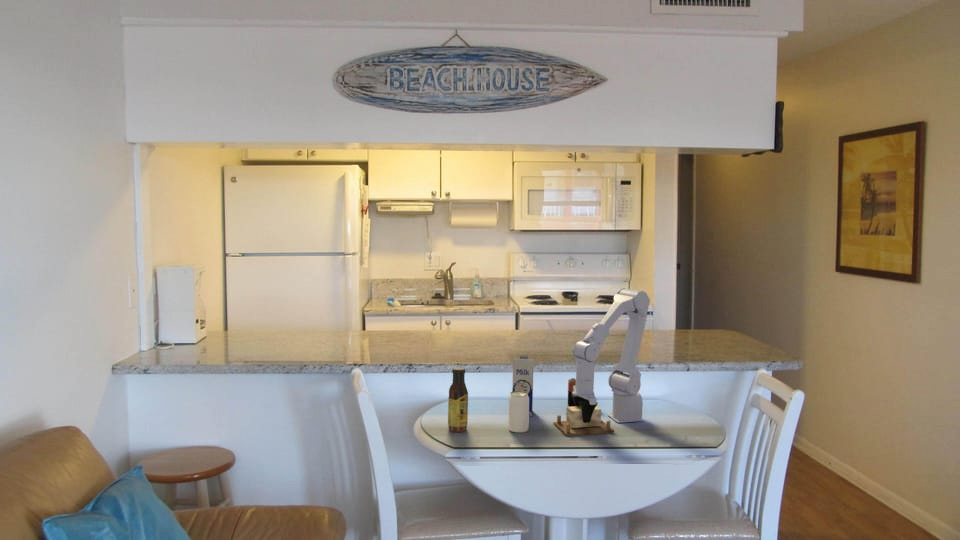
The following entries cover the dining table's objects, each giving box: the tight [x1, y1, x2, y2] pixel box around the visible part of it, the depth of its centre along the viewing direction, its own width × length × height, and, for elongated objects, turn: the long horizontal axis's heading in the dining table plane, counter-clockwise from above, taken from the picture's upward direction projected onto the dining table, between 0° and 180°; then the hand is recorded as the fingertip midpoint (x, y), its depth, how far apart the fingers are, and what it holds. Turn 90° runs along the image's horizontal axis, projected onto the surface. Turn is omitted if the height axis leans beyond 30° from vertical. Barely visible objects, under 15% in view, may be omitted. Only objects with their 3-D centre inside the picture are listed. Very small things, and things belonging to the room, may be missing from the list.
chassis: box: [552, 414, 615, 437], centre depth 200 cm, size 16×11×3 cm
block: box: [565, 405, 602, 428], centre depth 200 cm, size 10×4×6 cm, turn 103°
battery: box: [567, 377, 576, 407], centre depth 223 cm, size 4×7×10 cm, turn 84°
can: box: [507, 391, 530, 434], centre depth 198 cm, size 6×6×12 cm
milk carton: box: [511, 355, 535, 418], centre depth 213 cm, size 7×7×20 cm
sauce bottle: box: [447, 366, 469, 433], centre depth 197 cm, size 6×6×20 cm
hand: (583, 419), depth 200 cm, fingers closed on block, 4 cm apart
